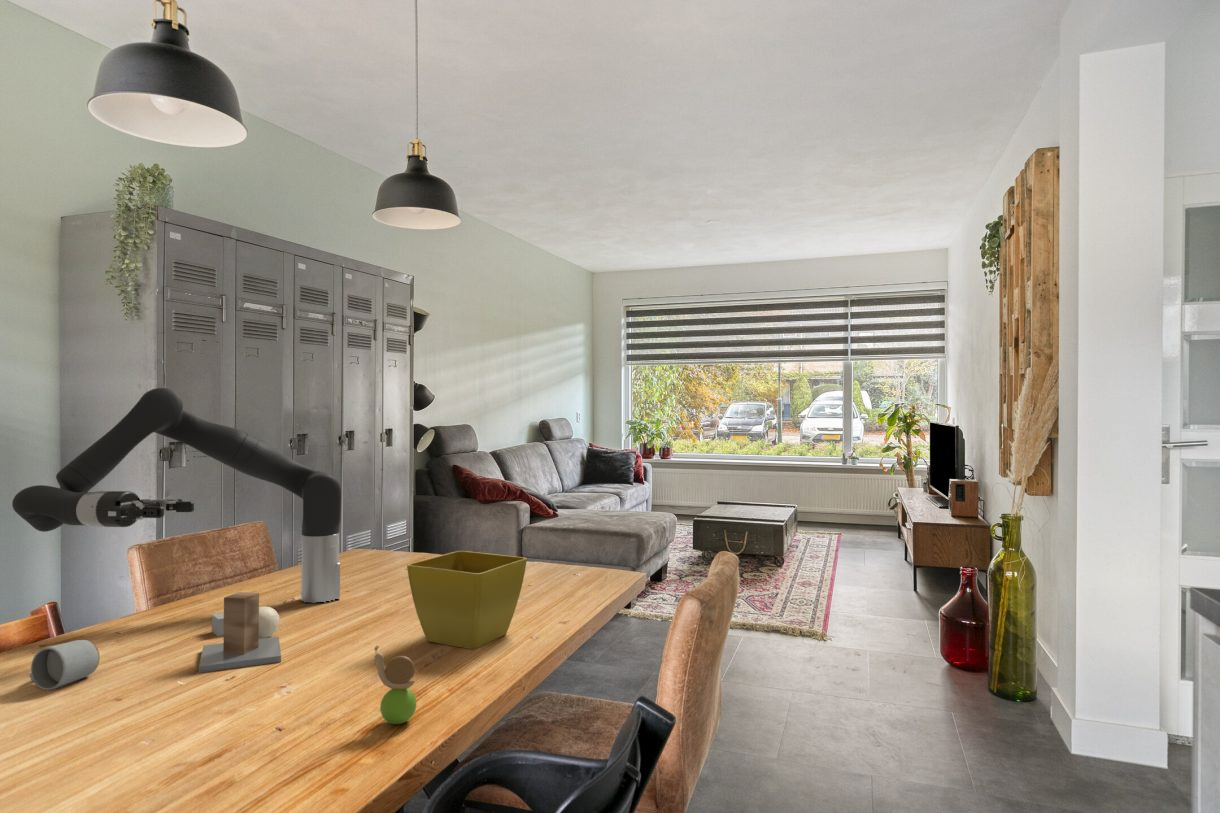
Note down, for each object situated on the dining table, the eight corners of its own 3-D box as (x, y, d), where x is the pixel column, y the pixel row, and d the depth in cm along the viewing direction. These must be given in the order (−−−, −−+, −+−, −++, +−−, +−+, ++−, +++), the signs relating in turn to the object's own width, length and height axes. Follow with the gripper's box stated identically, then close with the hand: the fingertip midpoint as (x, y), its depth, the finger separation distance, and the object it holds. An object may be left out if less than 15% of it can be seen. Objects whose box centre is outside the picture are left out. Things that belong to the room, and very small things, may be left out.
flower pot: (528, 631, 162) (528, 556, 162) (478, 657, 144) (479, 573, 145) (459, 621, 170) (459, 550, 170) (404, 644, 152) (404, 564, 153)
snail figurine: (378, 716, 116) (378, 641, 116) (419, 715, 116) (419, 640, 116) (369, 730, 110) (370, 651, 110) (412, 729, 111) (412, 650, 111)
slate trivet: (278, 642, 154) (278, 636, 154) (281, 661, 141) (281, 655, 141) (203, 651, 148) (203, 645, 148) (198, 672, 135) (198, 666, 135)
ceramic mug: (103, 676, 134) (103, 635, 134) (63, 691, 126) (63, 649, 126) (57, 673, 136) (57, 633, 136) (15, 688, 128) (15, 646, 128)
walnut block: (238, 646, 147) (238, 592, 147) (258, 647, 146) (259, 592, 147) (223, 653, 143) (223, 597, 143) (244, 654, 142) (244, 598, 142)
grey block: (236, 628, 165) (236, 610, 165) (242, 632, 161) (243, 614, 161) (211, 632, 161) (211, 614, 161) (218, 637, 158) (218, 619, 158)
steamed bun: (286, 633, 160) (286, 603, 160) (267, 643, 153) (268, 611, 153) (257, 632, 161) (258, 602, 161) (237, 642, 154) (238, 610, 154)
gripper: (79, 495, 146) (151, 495, 144) (135, 487, 160) (202, 487, 158) (79, 532, 146) (152, 533, 144) (135, 521, 160) (202, 522, 158)
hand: (178, 509), depth 151 cm, fingers open, 8 cm apart
